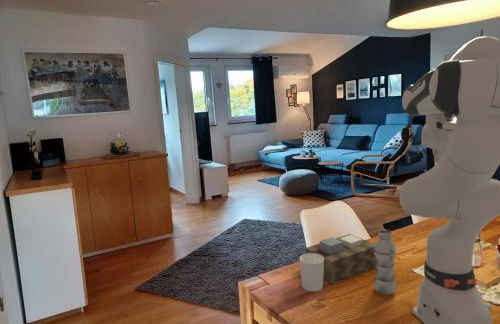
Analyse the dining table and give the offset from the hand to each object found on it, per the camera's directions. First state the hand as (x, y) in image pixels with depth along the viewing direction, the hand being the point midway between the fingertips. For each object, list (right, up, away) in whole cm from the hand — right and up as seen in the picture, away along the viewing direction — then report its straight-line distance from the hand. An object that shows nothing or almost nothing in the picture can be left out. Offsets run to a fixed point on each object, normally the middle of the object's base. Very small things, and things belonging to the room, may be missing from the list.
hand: (438, 162), depth 125 cm
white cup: (-45, -41, -5) cm, 61 cm away
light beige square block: (-28, -32, +8) cm, 43 cm away
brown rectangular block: (-32, -38, +7) cm, 50 cm away
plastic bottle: (-23, -41, -11) cm, 48 cm away
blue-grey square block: (-37, -32, +3) cm, 49 cm away
